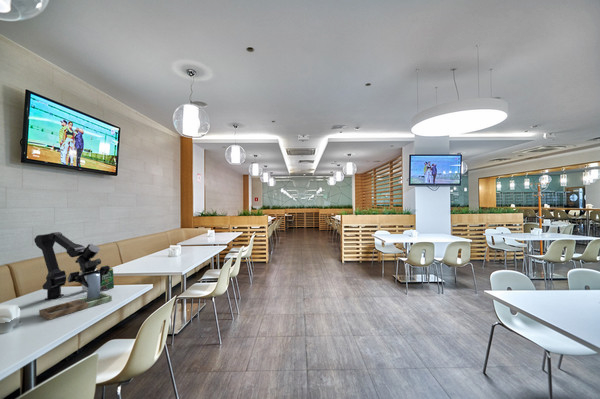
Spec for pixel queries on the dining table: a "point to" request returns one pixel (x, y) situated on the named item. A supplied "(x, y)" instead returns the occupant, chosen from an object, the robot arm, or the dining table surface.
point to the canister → (93, 285)
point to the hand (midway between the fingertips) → (94, 285)
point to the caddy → (73, 306)
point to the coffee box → (107, 281)
